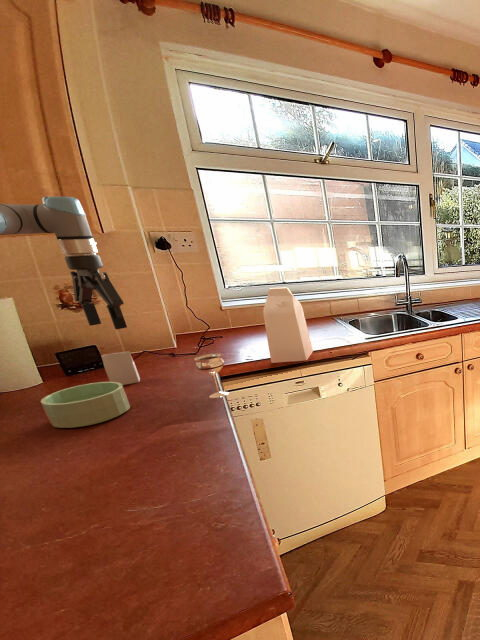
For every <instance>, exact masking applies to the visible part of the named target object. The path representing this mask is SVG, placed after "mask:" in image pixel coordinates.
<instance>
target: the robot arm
mask: <svg viewBox="0 0 480 640" xmlns="http://www.w3.org/2000/svg"><path fill="white" fill-rule="evenodd" d="M41 201H42V202H41V203H40V204H39V203H38V204H25V203H24V204H23V203H22V204H17V203H0V236H8V235H9V236H10V235H11V236H12V235H33V234H34V235H36V234H54V235H55V237H56V241H57V244H58V246H59V249H60V251H61V253H62V254H63V255H65V256H64V261H65V264H66V266H67V268H68V269H69V270H72V271H70V277H71V279H72V287H73V295H74V301H75V302H77V303H79V304H80V305H81V307H82V310H83V313H84V314H85V317H86V320H87V322H88V326H90V327H92V326H96V325H102V321H101V319H100V316H99V313H98V311H97V308H96V305H95V302H94V300H93V292H94V291H96V292H97V294H98V295H99V296H100V297H101V299H102V300H103V301H104V302H105V304H106V306H105V307H106V309H107V311H108V313H109V317H110V319H111V322H112V324H113V326H114V330H121V329H126V328H128V326H127V323H126V320H125V317H124V314H123V312H122V308H121V306H123V305H124V301H123V299H122V297H121V296H120V294H119V293H118V291H117V289H116V288H115V286H114V285H113V283H112V281H111V280H110V278H109V275H108V273H107V272H106V271H104V272H103V271H102V272H100V271H99V269H102V268H103V267H104V264H103V262H102V258H101V256H100V255H99V254H97V253H99V251H98V248H97V243H98V242H96V241H95V239H94V236H93V234H92V231H91V227H90V224H89V222H88V219H87V214H86V212H85V210H84V207H83V206H82V203H81V201H80V200H79V199H78V198H77V197H74V196H43V197H42V198H41Z"/></svg>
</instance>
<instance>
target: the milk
mask: <svg viewBox="0 0 480 640" xmlns="http://www.w3.org/2000/svg"><path fill="white" fill-rule="evenodd" d="M262 314H263V321H264V327H265V333H266V339H267V345H268V351H269V352H268V353H269V358H270V362H271V364H275V363H290V362H302V361H307V360H308V359H309V358H310V357H311V355H312V354H313V352H314V349H313V346H312V345H313V344H312V341H311V337H310V333H309V330H308V326H307V321H306V317H305V313H304V309H303V306H302V304H301V302H300V301H299V300H298V299H297V298H296V296H294V294H293V292H291V289H290V288H289V287H270V288H268V293H267V297H266V300H265V303H264V306H263V311H262Z"/></svg>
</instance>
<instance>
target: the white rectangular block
mask: <svg viewBox="0 0 480 640" xmlns="http://www.w3.org/2000/svg"><path fill="white" fill-rule="evenodd" d="M100 357H101V360H102V363H103V367H104V371H105V373H106V376H107V378H108V382H119V383H121V384H122V385H123V386H124V385H131V384H137V383H140V382H141V377H140V374H139V371H138V369H137V365H136V363H135V360H134V358H133V357H132V355H131V352H130V351H129V350H128V351H121V352H114V353H106V354H101V355H100Z"/></svg>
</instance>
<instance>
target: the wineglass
mask: <svg viewBox="0 0 480 640" xmlns="http://www.w3.org/2000/svg"><path fill="white" fill-rule="evenodd" d="M193 360H194V361H195V367H196V369H197V370H198V371H199V372H201V373H203V374H205V375H209V376H211V377H212V380H213V383H214V386H215V389H216V392H214V393H212V394H210V395H209V396H208V397H209V398H210V399H219V398H222V397H226V396H227V395H229V391H220V390H219V386H218V385H219V384H218V381H217V377H216V375H217V373H219V372H220V371H222V369H223V368H224V366H225V361H224V359H223V358H222V354H221V353H216V352H215V353H205V354H202V355H198V356H196V357H194V359H193Z"/></svg>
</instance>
